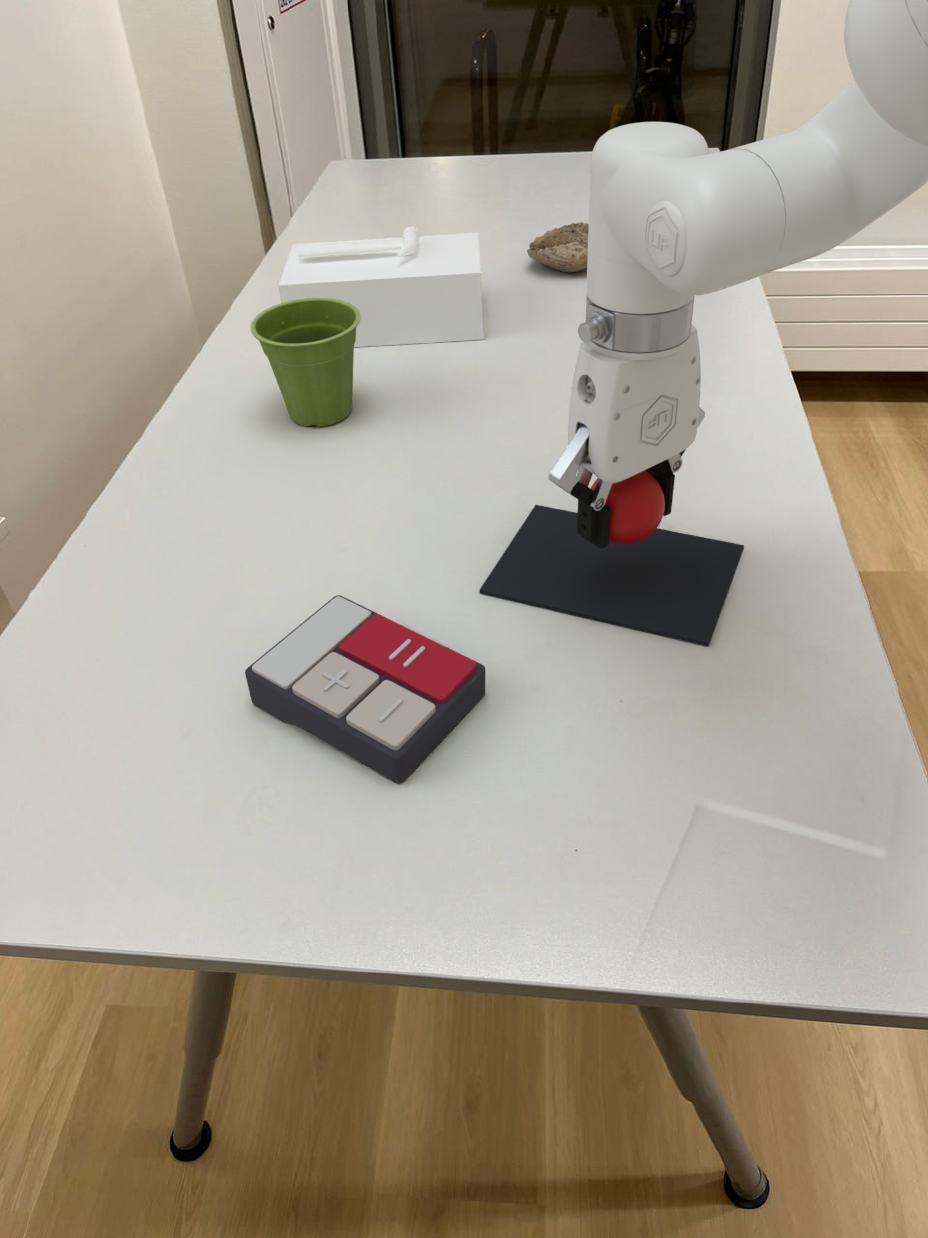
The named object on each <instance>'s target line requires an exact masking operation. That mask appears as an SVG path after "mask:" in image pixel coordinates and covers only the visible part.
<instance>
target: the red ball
mask: <svg viewBox="0 0 928 1238" xmlns="http://www.w3.org/2000/svg"><path fill="white" fill-rule="evenodd" d="M598 479H599V478H598V477H596V479H595V481H593V483H592V485H591V486H590V487H589V488H590V489H592V490H593V491H594V490H595V487H596V484H597V482H598ZM605 504H607V505H608V506H609V507H610V509H611V514H610V531H609V541H611V542H614V543H618V544H632V543H636V542H639V541H641V540H643V539H645V538H647V537H648V536H650V535H651V534H652V533H653V532H654V531H655V530H656V529H657V528H659V526H660V525H661V523H662V520H663V517H664V516H663V515H664V510H665V499H664V494H663V491H662V488H661V486H660V485H659V483H658V482H657V480H656V479H655V478H654V477H653V476H652V475H651V474H649V473H648V472H646V471H645V470H644V471H642V472H640V473H638V474H636V475H634V476H631V477H629V478H627V479H625V480H623V481H620V482H617V483H613V484H612V486H611V489H610V492H609V494H608V497H607V500H606V502H605Z"/></svg>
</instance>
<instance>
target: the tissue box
mask: <svg viewBox="0 0 928 1238" xmlns="http://www.w3.org/2000/svg"><path fill="white" fill-rule="evenodd" d="M481 269H482V268H481V256H480V241H479V232H464V233H449V234H447V233H446V234H431V235H420V230H419V229H418V228H417V227H416V226H407V227H405V228H404V229H403V230H402V237H386V238H367V239H353V240H338V241H335V240H334V241H321V242H320V241H319V242H304V243H292V245H291V247H290V251H289V253H288V255H287V259H286V262H285V265H284V267H283V270H282V273H281V276H280V279H279V281H278V285H277V287H278V291H279V296H280V302H281V303H284V302H288V301H292V300H298V299H306V298H330V299H337V300H342V301H345V302H348V303H350V304H352V305H353V306H355V307H356V308H357V309H358V310H359V312H360V315H361V319H360V322H359V324H358V325H357V327H356V341H355V344H354V348H365V347H366V348H367V347H368V348H369V347H383V346H401V345H416V344H434V343H435V344H436V343H451V342H466V341H469V342H470V341H483V340H485V334H484V313H483V312H484V311H483V291H482V289H483V288H482V272H481V271H482V270H481ZM281 303H280V304H281Z"/></svg>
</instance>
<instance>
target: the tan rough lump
mask: <svg viewBox="0 0 928 1238" xmlns="http://www.w3.org/2000/svg"><path fill="white" fill-rule="evenodd" d="M588 227H589V222H588V223H587V222H586V223H584V222H582V221H580V222H576V223H575V222H572V223H570V224H566V225H562V226H560V227H554V228H553V229H551V230H547V231H546V232H545V233H544V234H543V235H540V236H535V239H534V240H533V241H532V242H530V243H529V244H528V247H529V248H528V249H526V252H527V256H528V257H529V258H531V259H532V260H535V261H536V262H538V263H540V264H541V265H545V266H547V267H549V268H552V269H554V270H557V271H560V272H562V273H576V272H580V271H583V270H584V269H587V259H588Z"/></svg>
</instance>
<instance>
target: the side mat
mask: <svg viewBox="0 0 928 1238" xmlns="http://www.w3.org/2000/svg"><path fill="white" fill-rule="evenodd" d="M577 517H578V512H577V511H576V512H575V511H571V510H565V509H560V508H556V507H555V508H554V507H550V506H545V505H541V504H540V505H539V504H535V505H534V506H533V508H532V509H531V511H530V512H529V514H528V516H527V517H526V519H525V520H524V521H523V523H522V525H520V528H519V529H518V530H517V532H516V534H515V535H514V537H513V538H512V540H511V541H510V543H509V544H508V546H507V547H506V549H505V551H504V552H503V554H502V555H501V557H500V558H499V559H498V561H497V562H496V564H495V566H494V567H493V568H492V570H491V571H490V573H489V575H488V576H487V577H486V579H485V581H484V582H483V584H482V585H481V587H480V588H479V594H482V595H486V596H489V597H493V598H497V599H498V598H499V599H502V600H506V601H510V602H515V603H519V604H524V605H528V606H532V607H536V608H541V609H545V610H550V611H554V612H558V613H562V614H567V615H571V616H575V617H579V618H583V619H588V620H593V621H596V622H601V623H606V624H609V625H614V626H618V627H623V628H627V629H631V630H636V631H639V632H645V633H648V634H652V635H657V636H662V637H665V638H669V639H673V640H678V641H682V642H687V643H691V644H695V645H699V646H704V647H709V646H710V644H711V640H712V638H713V636H714V632H715V629H716V627H717V624H718V621H719V618H720V616H721V613H722V610H723V607H724V604H725V601H726V599H727V596H728V594H729V590H730V588H731V585H732V582H733V580H734V578H735V577H734V576H735V574H736V571H737V568H738V566H739V563H740V559H741V557H742V554H743V552H744V548H745V545H744V544H739V543H735V542H730V541H724V540H721V539H720V540H718V539H714V538H708V537H704V536H698V535H693V534H688V533H683V532H678V531H673V530H668V529H663V528H659V527H657V529H656V530H655V531H654V532H653V533H652V534H651V535H650V536H648V537H647V538H645V539H643V540H641V541H639V542H636V543H632V544H618V543H614V542H611V541H609V544H608V546H607V547H605V548H603V549H600V548H598V547H597V546H595V545H594V544H592V543H591V542H589V541H588V540H586V539H585V538H583V537H582V536H580V535H579V534H578V531H577Z"/></svg>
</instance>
